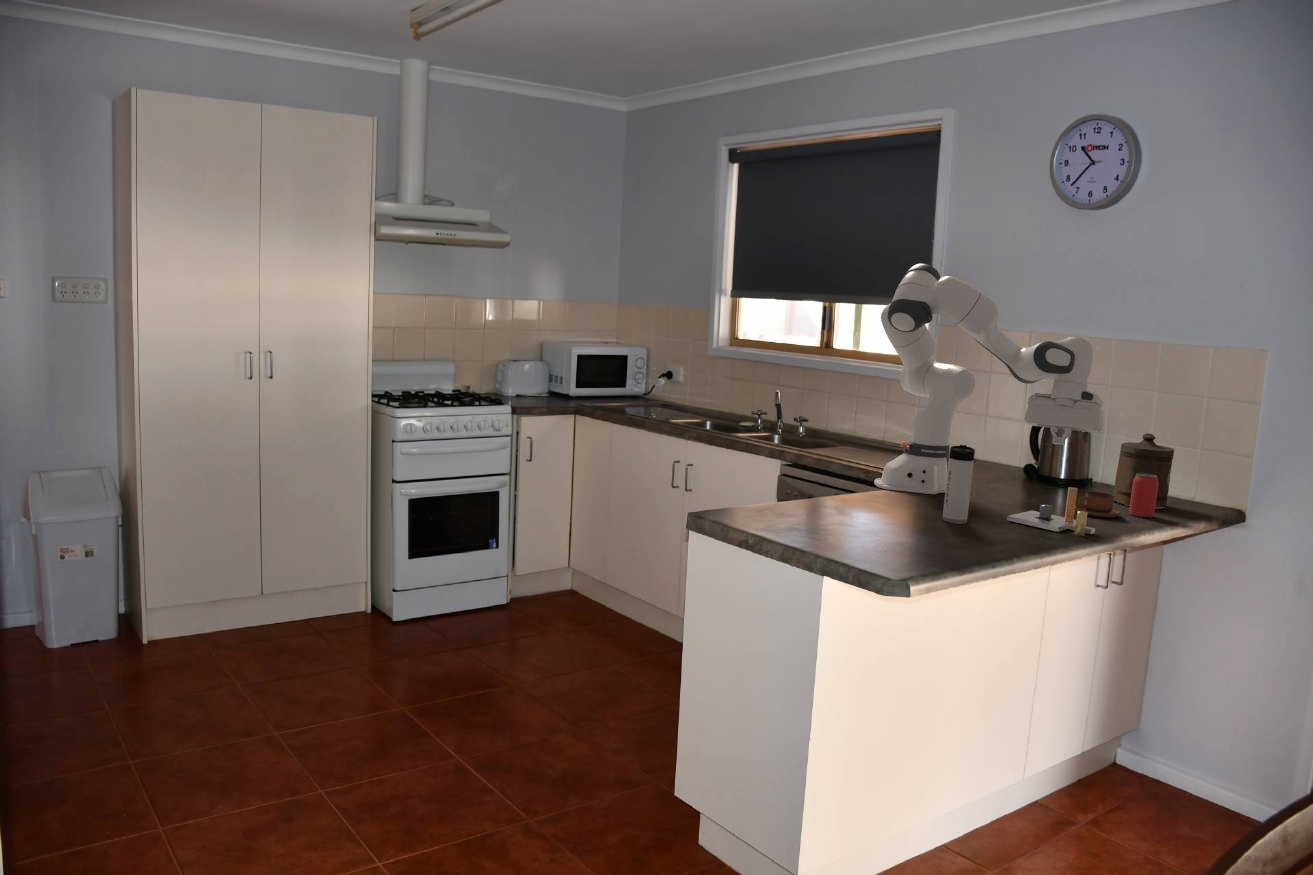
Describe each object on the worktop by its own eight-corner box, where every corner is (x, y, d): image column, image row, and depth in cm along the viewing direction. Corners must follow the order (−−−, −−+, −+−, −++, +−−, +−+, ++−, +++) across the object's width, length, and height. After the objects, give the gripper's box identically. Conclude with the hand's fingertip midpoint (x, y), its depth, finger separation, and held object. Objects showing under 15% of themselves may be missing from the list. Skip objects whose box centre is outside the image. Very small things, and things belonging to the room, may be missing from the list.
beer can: (1153, 515, 286) (1159, 474, 284) (1154, 519, 280) (1160, 478, 278) (1128, 511, 289) (1134, 471, 287) (1128, 515, 283) (1134, 474, 281)
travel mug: (967, 520, 262) (975, 446, 259) (966, 525, 256) (975, 449, 253) (943, 517, 264) (951, 443, 261) (941, 521, 258) (949, 446, 255)
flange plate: (1007, 520, 264) (1011, 482, 263) (1031, 514, 274) (1036, 478, 272) (1080, 536, 250) (1086, 497, 248) (1104, 530, 259) (1109, 492, 258)
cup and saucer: (1100, 521, 273) (1103, 499, 272) (1065, 511, 284) (1068, 490, 283) (1129, 519, 279) (1132, 498, 278) (1093, 509, 289) (1096, 489, 288)
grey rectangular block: (1040, 524, 262) (1042, 506, 262) (1036, 522, 265) (1038, 504, 265) (1051, 525, 262) (1054, 507, 262) (1047, 523, 265) (1050, 504, 265)
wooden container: (1177, 510, 297) (1187, 437, 294) (1137, 510, 293) (1147, 436, 289) (1140, 499, 311) (1150, 430, 308) (1101, 499, 307) (1110, 429, 303)
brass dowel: (1076, 535, 252) (1079, 512, 251) (1073, 533, 255) (1076, 510, 254) (1086, 536, 252) (1089, 513, 251) (1082, 533, 255) (1085, 511, 254)
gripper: (1026, 389, 277) (1016, 436, 275) (1103, 396, 264) (1093, 445, 263) (1033, 395, 282) (1023, 442, 280) (1109, 402, 269) (1099, 451, 267)
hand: (1058, 443), depth 271 cm, fingers closed
